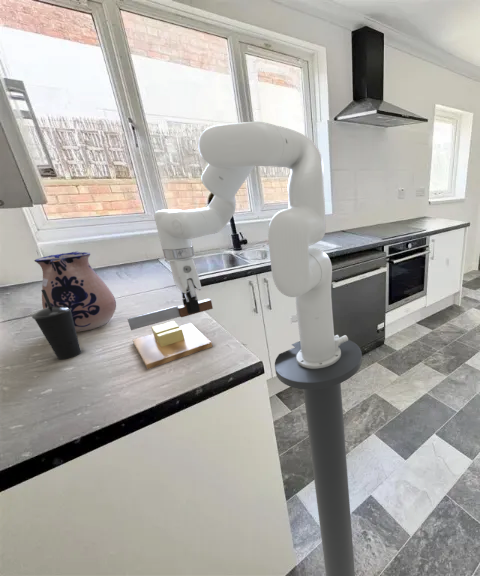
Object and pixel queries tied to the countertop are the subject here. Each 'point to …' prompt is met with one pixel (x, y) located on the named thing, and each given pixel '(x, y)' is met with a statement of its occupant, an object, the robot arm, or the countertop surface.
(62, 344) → the drinking cup
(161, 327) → the butter block
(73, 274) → the ceramic pitcher
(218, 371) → the countertop surface
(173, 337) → the butter slice
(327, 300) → the robot arm
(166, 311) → the knife
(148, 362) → the board
